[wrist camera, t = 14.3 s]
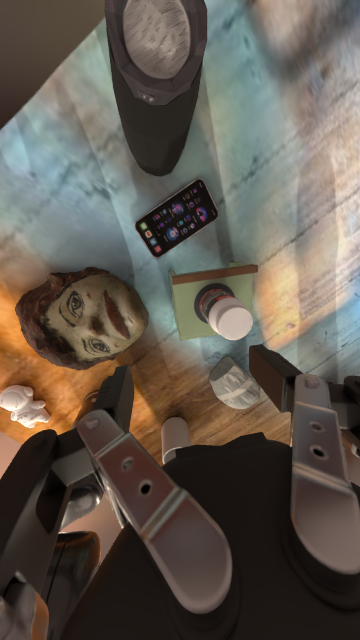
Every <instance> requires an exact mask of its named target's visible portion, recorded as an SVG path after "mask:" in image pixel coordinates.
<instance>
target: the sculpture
mask: <svg viewBox="0 0 360 640" xmlns="http://www.w3.org/2000/svg"><path fill="white" fill-rule="evenodd" d="M47 278H48V281H46V283H45V284H43V285H42V286H40V287H38V288H36V289H35V290H31V291H28V292H27V293H26V294H24V295H23V296H22V297H21V299H20V300H19V302H18V303H17V305H16V307H15V311H16V314H17V316H18V317H19V321H20V324H21V331H22V332H23V335H24V337H25V339H26V341H27V343H28V344H29V345H30V346H31V347H32V348H33V349H34V351H35V352H36V353H37V354H38V355H40V356H41V357H42V358H44V359H47V360H48V361H49V362H51V363H52V364H55V365H56V366H63V367H68V368H71V369H76V370H86V369H88V368H90V367H92V366H94V365H96V364H98V363H100V362H104V361H107V360H111V361H113V360H114V359H115V357H116V356H117V355H119V354H122V353H124V351H125V350H126V349H127V348H128V347H129V346H130V345H131V344H132V343H134V342H135V341H136V340H137V339H138V338H139V337H140V336H141V335H142V334H143V332H144V330H145V329H146V326H147V323H148V312H147V310H146V308H145V305H144V303H143V301H142V300H141V298H140V296H139V294H138V293H137V291H136V290H135V289H134V288H132V287H131V286H130V285H128V284H127V283H126V282H124V281H123V280H121V279H120V278H118V277H117V276H115V275H112V274H110V272H109V271H106V270H103V269H97V268H96V267H88V268H86V269H84V270H83V271H80V272H77V273H76V272H70V273H51V274H49V275H48V277H47Z"/></svg>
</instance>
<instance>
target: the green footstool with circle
mask: <svg viewBox="0 0 360 640" xmlns="http://www.w3.org/2000/svg"><path fill="white" fill-rule="evenodd" d="M257 272H258V265H254V264H247V263H239V262H229V267H225V268H218V269H211V270H204V271H198V272H191V273H184V274H177V273H176V272H175V271H168V273H169V280H170V286H171V293H172V300H173V307H174V314H175V320H176V326H177V330H178V333H179V337H180V340H181V341H182V340H188V339H194V338H200V337H206V336H212V335H217V334H219V333H217V332H215V331H214V330H213V329H212V328H211V326H210V325H209V323H208V322H207V320H206V319H205V318H204V316H203V315H202V313H201V311H200V301H201V299H202V297H203V296H204V294H205V293H207V292H208V291H210V290H213V289H221V290H224V291H226V292H227V293H229V294H230V295H232V296H234V297H235V298H237V299H239V300H240V301H241V302H242V303H243V304H244V305H245V307H246V309H247V310H248V311H249V312H250V313H251V315H252V273H257ZM251 329H252V328H251Z"/></svg>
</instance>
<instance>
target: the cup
mask: <svg viewBox="0 0 360 640" xmlns="http://www.w3.org/2000/svg"><path fill="white" fill-rule="evenodd" d="M161 432H162V461H163V464H165V463H167V462H168V461H170V460H171V459H173V458H175V457H176V454H175V449H177V448H182V447H188V446H191V443H190V437H189V432H188V427H187V423H186V421H185V420H183V419H182V418H180V417H172V418H169V419H167V420H166V421H165V422H164V423H163V425H162V431H161Z"/></svg>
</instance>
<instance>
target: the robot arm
mask: <svg viewBox="0 0 360 640" xmlns="http://www.w3.org/2000/svg"><path fill="white" fill-rule="evenodd" d="M249 371H250V373H251V375H252V376H253V378H254V379H255V380H256V382H257V383H258V384H259V385H260V387H261V388H262V389H263V390H264V392H265V393H266V394H267V396H268V397H269V398H270V399H271V401H272V402H273V403H274V404H275V406H276V407H277V408H278V410H279V411H280V412H281V413H284V412H289V411H290V413H291V426H290V442H289V445H287V444H284V443H282V442H278V441H274V440H268V439H266V437H265V436H264V434H263V432H259V433H254V434H249V435H244V436H240V437H238V438H236V439H234V440H232V441H230V442H228V443H226V444H224V445H222V446H212V445H193V446H188V447H182V448H177V449H175V454H176V457H175V458H173V459H171V460H170V461H168V462H167V463H165V464H164V465H163V466H162V467H161V466H160V465H159V464H158V463H157V462H156V461H155V460H154V458H153V457H152V456H151V455H150V454H149V453H148V452H147V451H146V449H145V448H144V447H143V446H142V445H141V444H140V443H139V441H138V440H137V439H136V438H135V437H134V436H133V435H132V434H131V433H130V432H129V427H130V420H131V414H132V407H133V400H134V385H133V380H132V376H131V372H130V367H129V365H125V366H119V367H116V369H115V372H114V375H113V376H108V377H107V378H106V379H105V380H104V381H103V383H102V386H101V389H100V390H97V391H94V392H92V393H90V394H89V395H87V397H86V398H85V400H84V402H83V404H82V407H81V409H80V411H79V413H78V415H77V417H76V419H75V421H74V423H73V426H72V428H71V430H70V431H67V432H65V433H62V434H60V435H57V433H56V431H55V430H52V429H48V430H43V431H41V432H38V433H36V434H35V435H33V436H32V437H30V438H29V439H28V440H27V441H26V442H24V444H23V445H22V446H21V448H20V449H19V451H18V452H17V454H16V455H15V457H14V459H13V460H12V462H11V463H10V465H9V466H8V468H7V470H6V471H5V473H4V474H3V476H2V478H1V479H0V640H360V487H359V486H357V485H356V484H354V483H352V482H351V481H350V477H349V472H348V466H347V461H346V456H345V451H344V446H343V441H342V436H341V432H342V433H343V434H344V435H345V436H346V437H347V438H348V439H349V440H350V441H351V442H352V443H353V444H354V445H355V446H356V447H357V448H358V449H359V450H360V376H348V377H346V378H345V379H344V383H343V384H327V382H326V381H325V380H323V379H322V378H320V377H318V376H315V375H312V374H303V373H302V372H301V371H300V370H298V369H297V368H296V367H295V366H293V365H292V364H291V363H290V362H289V361H287V360H286V359H284V357H282V356H281V355H280V354H279V353H276V352H274V351H272V350H268V349H267V348H266V347H265V346H263V345H262V344H259V345H253V346H250V347H249ZM103 493H105V495H106V497H107V499H108V501H109V503H110V505H111V507H112V509H113V512H114V514H115V516H116V518H117V520H118V522H119V524H120V526H121V528H122V530H121V532H120V533H119V535H118V537H117V538H116V540H115V542H114V543H113V545H112V547H111V549H110V550H109V552H108V554H107V555H106V557H105V559H104V560H103V562H102V564H101V565H100V557H101V546H100V539H99V536H98V535H97V534H96V533H95V532H91V531H77V532H64V533H59V532H60V531H61V530H62V529H63V528H65V527H66V526H67V525H69V524H70V523H72V522H74V521H76V520H78V519H80V518H81V517H83V516H86V515H87V514H89V513H90V512H92V511H93V510H94V509H95V508H96V507H97V506H98V505H99V503H100V501H101V499H102V497H103Z"/></svg>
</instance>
